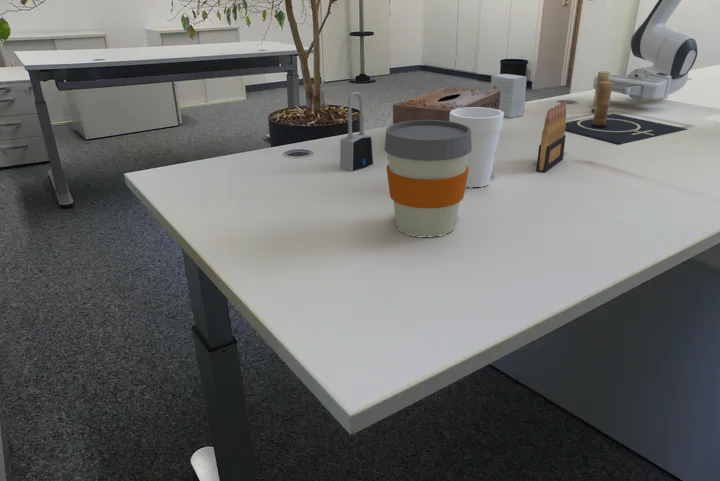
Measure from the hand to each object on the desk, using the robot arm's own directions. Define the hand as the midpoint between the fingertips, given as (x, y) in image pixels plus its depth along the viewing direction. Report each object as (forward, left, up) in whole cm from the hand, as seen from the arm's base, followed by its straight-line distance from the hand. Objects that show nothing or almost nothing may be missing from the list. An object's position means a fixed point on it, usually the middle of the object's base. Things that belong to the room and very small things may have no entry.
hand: (609, 88), depth 153 cm
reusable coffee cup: (-40, +90, -6) cm, 99 cm away
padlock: (-7, +84, -6) cm, 85 cm away
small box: (+12, +26, -6) cm, 30 cm away
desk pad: (-16, +15, -6) cm, 23 cm away
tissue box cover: (-1, +57, -6) cm, 57 cm away
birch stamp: (0, +4, -6) cm, 7 cm away
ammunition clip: (-28, +52, -6) cm, 59 cm away
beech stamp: (-13, +19, -6) cm, 23 cm away
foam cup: (-28, +72, -6) cm, 77 cm away
